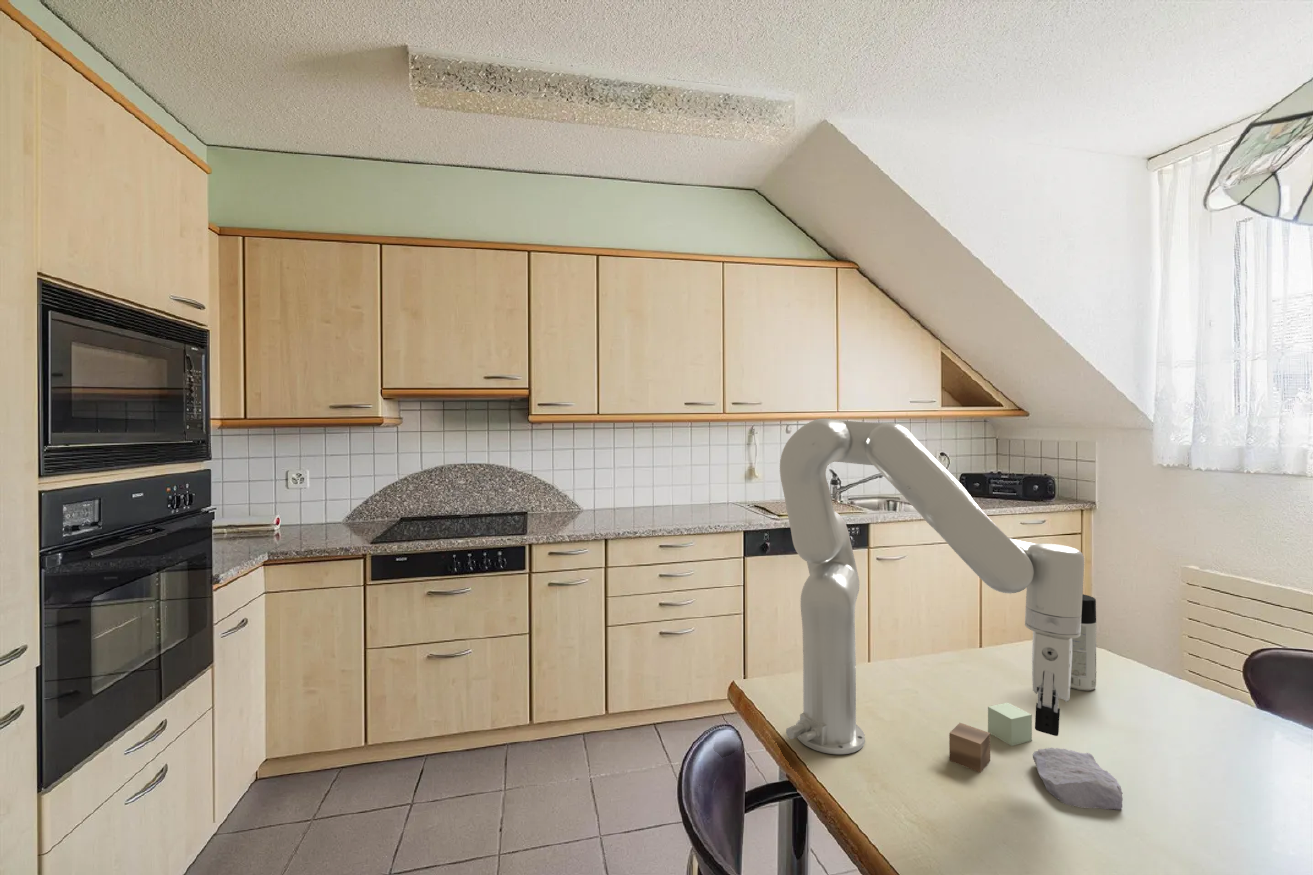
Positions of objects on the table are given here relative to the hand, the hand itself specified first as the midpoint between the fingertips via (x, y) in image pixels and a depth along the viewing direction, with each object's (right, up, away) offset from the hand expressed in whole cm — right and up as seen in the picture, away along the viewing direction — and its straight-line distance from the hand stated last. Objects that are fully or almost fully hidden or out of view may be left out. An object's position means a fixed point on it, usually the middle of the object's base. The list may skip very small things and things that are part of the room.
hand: (1046, 730), depth 95 cm
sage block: (+2, -8, +14) cm, 16 cm away
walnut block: (-9, -8, +6) cm, 14 cm away
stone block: (+3, -9, -1) cm, 9 cm away
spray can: (+30, -8, +35) cm, 47 cm away
